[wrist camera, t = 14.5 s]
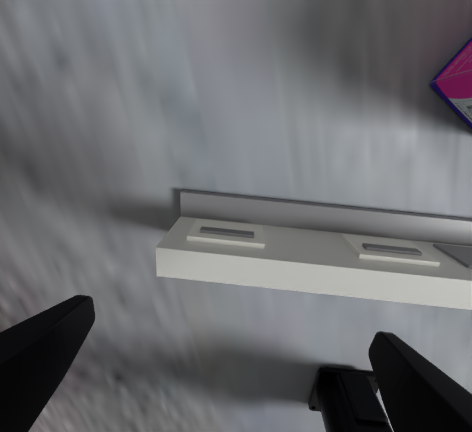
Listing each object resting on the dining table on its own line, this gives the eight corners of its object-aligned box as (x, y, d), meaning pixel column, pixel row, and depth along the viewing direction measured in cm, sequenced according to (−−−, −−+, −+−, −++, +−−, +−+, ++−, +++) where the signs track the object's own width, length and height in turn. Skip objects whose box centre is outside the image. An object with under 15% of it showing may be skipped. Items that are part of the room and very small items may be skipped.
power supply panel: (523, 290, 20) (629, 353, 15) (182, 254, 21) (158, 301, 15) (564, 228, 18) (707, 273, 12) (183, 189, 18) (154, 216, 13)
